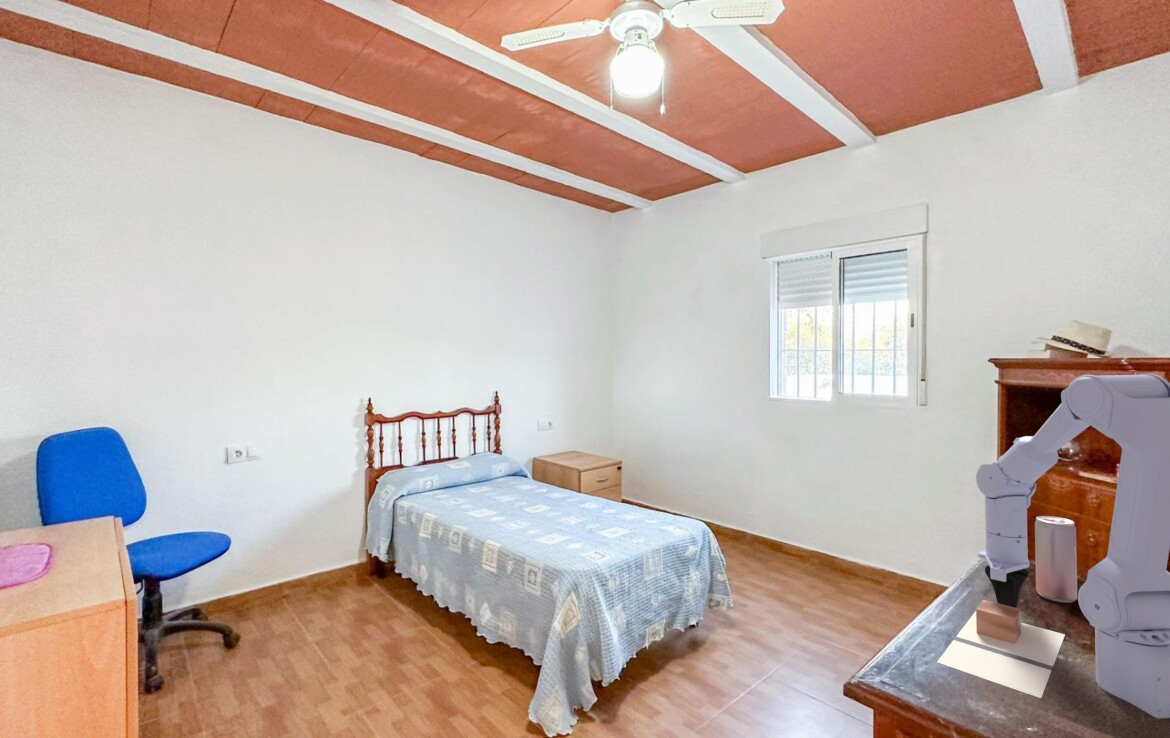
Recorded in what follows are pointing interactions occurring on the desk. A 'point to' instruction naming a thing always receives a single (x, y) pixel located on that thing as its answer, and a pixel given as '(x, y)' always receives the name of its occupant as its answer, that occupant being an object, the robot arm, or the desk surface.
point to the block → (998, 621)
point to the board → (1006, 657)
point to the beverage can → (1056, 558)
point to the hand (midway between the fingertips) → (1007, 610)
